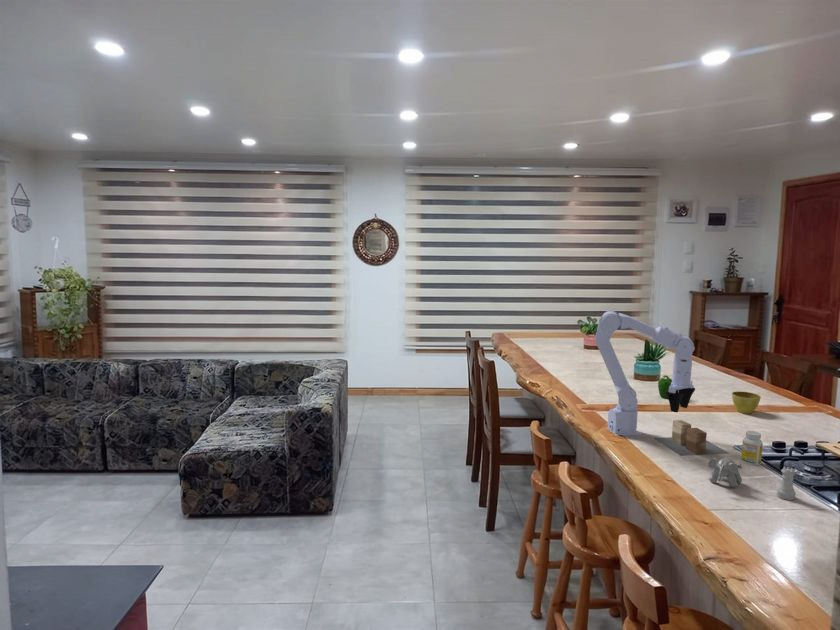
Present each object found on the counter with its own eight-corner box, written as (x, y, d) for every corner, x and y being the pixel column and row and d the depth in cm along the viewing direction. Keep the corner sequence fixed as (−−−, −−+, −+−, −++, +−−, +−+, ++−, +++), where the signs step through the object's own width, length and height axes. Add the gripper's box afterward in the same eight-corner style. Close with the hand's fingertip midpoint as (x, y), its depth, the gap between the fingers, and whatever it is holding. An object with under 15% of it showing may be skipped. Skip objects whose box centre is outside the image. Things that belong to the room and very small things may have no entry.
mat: (680, 456, 178) (680, 455, 178) (653, 439, 193) (653, 438, 193) (729, 454, 180) (729, 453, 180) (698, 437, 196) (698, 436, 196)
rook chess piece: (788, 493, 152) (791, 465, 151) (799, 500, 148) (802, 472, 147) (772, 493, 152) (774, 465, 151) (783, 501, 148) (786, 472, 147)
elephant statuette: (739, 481, 161) (741, 454, 160) (748, 496, 150) (750, 468, 149) (704, 476, 164) (705, 451, 163) (710, 491, 153) (711, 464, 152)
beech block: (680, 445, 187) (681, 425, 186) (671, 440, 192) (673, 420, 191) (690, 444, 187) (691, 424, 186) (681, 439, 192) (682, 420, 191)
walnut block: (695, 454, 179) (696, 433, 178) (685, 448, 184) (687, 428, 183) (705, 453, 179) (706, 432, 178) (695, 448, 184) (697, 427, 183)
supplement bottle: (748, 466, 170) (751, 436, 169) (736, 459, 176) (739, 430, 174) (765, 465, 171) (767, 435, 170) (753, 459, 176) (755, 429, 175)
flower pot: (763, 416, 219) (764, 398, 218) (735, 414, 221) (736, 397, 220) (753, 409, 229) (755, 392, 228) (726, 407, 231) (728, 390, 230)
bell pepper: (673, 394, 250) (675, 373, 248) (680, 400, 242) (681, 377, 240) (654, 394, 251) (655, 372, 249) (660, 399, 242) (661, 376, 241)
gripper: (685, 376, 184) (682, 416, 186) (702, 370, 194) (699, 408, 196) (663, 372, 189) (661, 411, 191) (681, 366, 199) (679, 403, 201)
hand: (679, 409), depth 194 cm, fingers open, 7 cm apart
